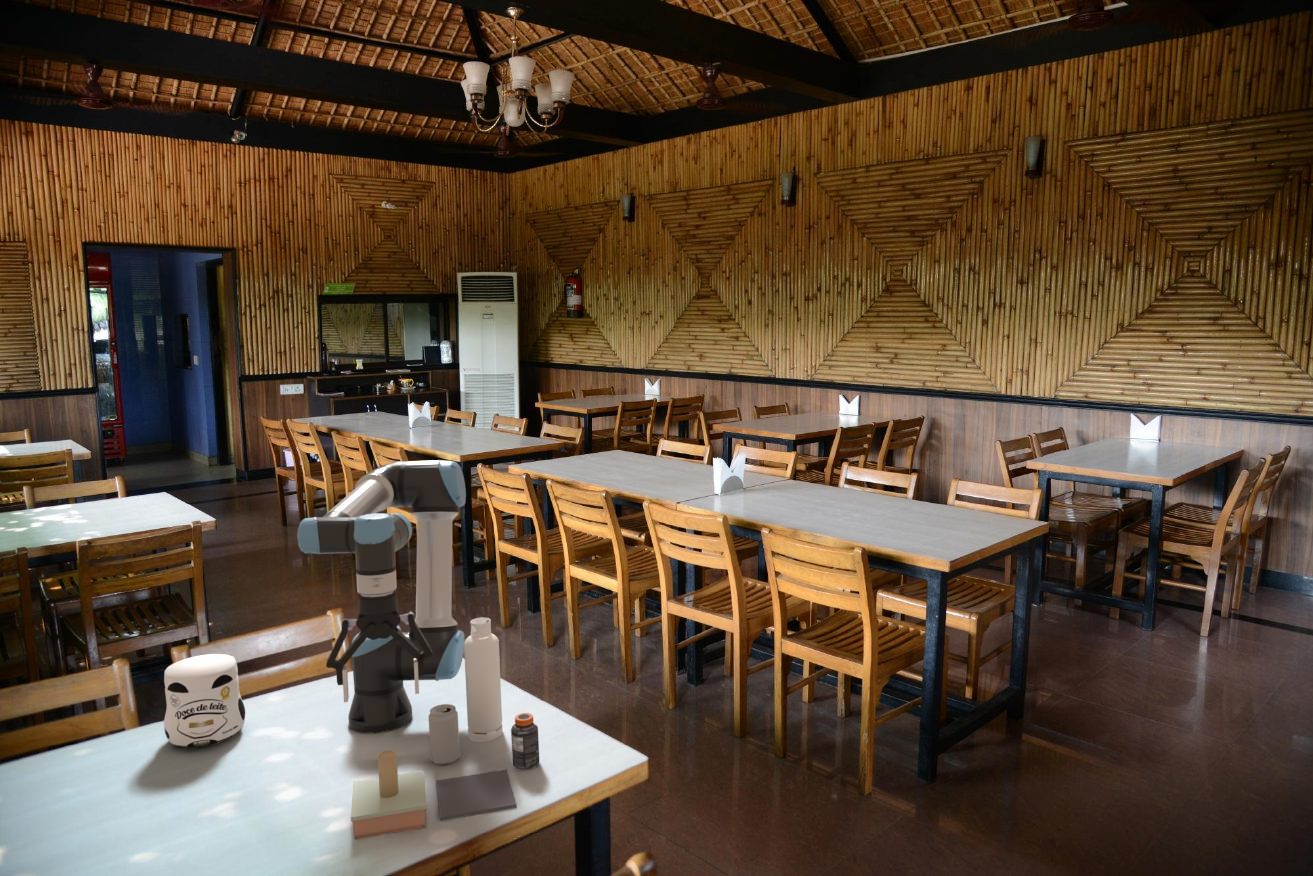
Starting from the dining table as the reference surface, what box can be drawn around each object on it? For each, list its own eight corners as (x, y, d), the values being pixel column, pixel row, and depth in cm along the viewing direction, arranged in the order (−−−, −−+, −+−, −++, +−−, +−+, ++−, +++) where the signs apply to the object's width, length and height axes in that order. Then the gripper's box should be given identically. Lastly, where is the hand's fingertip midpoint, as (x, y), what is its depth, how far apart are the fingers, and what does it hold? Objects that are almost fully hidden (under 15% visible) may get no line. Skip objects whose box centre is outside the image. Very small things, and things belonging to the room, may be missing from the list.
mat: (436, 783, 189) (436, 780, 189) (506, 771, 193) (506, 769, 193) (440, 820, 175) (440, 817, 175) (516, 807, 179) (516, 804, 179)
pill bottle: (538, 756, 200) (536, 708, 199) (540, 769, 194) (538, 720, 193) (511, 759, 199) (509, 711, 197) (513, 772, 193) (511, 723, 192)
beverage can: (452, 767, 196) (450, 716, 194) (425, 765, 197) (423, 714, 195) (464, 754, 202) (462, 704, 200) (438, 751, 203) (435, 702, 202)
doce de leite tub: (192, 761, 201) (186, 685, 198) (150, 743, 210) (143, 670, 207) (261, 731, 215) (256, 660, 213) (219, 715, 224) (213, 647, 222)
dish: (357, 804, 181) (356, 786, 181) (422, 793, 185) (421, 775, 184) (355, 839, 169) (353, 819, 168) (425, 827, 173) (424, 807, 172)
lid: (353, 785, 181) (350, 744, 180) (424, 774, 185) (421, 734, 184) (351, 821, 168) (348, 777, 167) (427, 808, 172) (424, 765, 171)
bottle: (508, 735, 211) (503, 622, 207) (476, 744, 206) (471, 629, 203) (494, 723, 217) (489, 613, 214) (462, 731, 213) (457, 619, 209)
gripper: (308, 603, 169) (314, 710, 171) (442, 591, 176) (446, 694, 178) (312, 593, 176) (317, 696, 178) (440, 582, 183) (444, 681, 185)
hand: (382, 695), depth 178 cm, fingers open, 13 cm apart
